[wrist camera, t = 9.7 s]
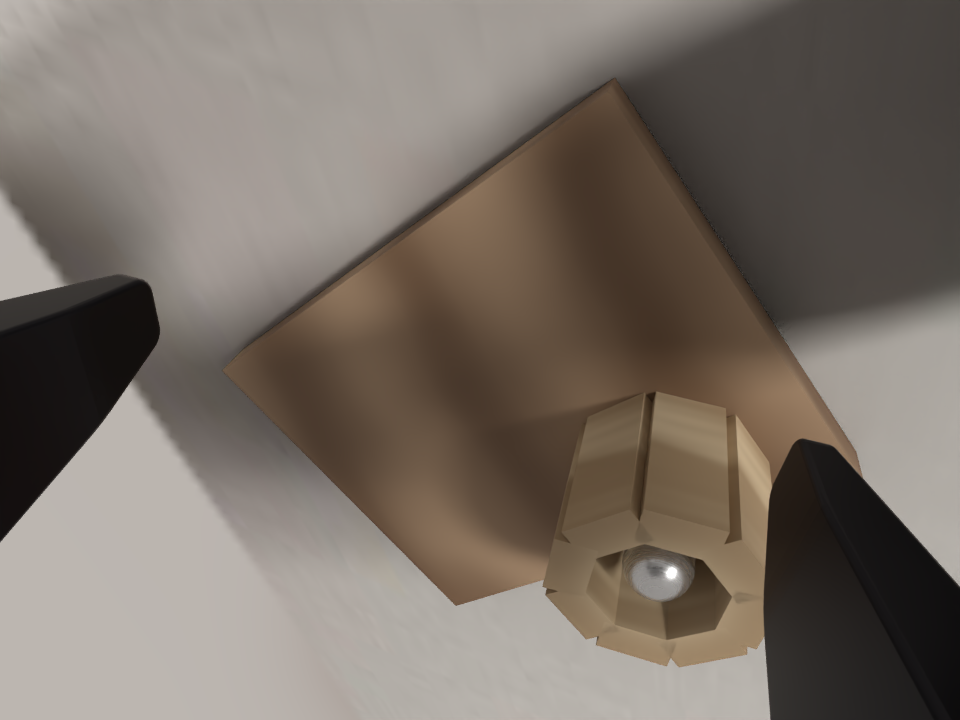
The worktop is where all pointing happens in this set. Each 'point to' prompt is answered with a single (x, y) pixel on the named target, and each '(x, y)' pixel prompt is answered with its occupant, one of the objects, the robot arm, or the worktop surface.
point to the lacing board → (524, 348)
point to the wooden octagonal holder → (664, 530)
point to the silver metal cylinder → (657, 572)
